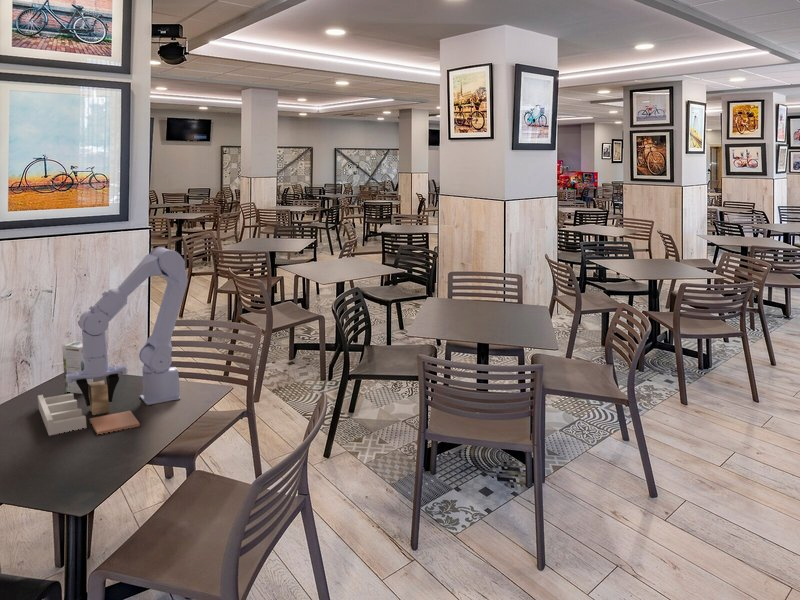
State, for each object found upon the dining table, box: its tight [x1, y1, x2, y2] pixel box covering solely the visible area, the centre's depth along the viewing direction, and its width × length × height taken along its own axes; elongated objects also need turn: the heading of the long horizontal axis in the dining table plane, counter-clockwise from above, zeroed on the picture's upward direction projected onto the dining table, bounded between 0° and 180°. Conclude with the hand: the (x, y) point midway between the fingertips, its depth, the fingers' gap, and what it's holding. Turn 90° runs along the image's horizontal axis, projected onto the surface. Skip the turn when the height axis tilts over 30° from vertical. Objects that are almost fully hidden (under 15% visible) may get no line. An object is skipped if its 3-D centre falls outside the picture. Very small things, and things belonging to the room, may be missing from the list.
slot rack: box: [37, 393, 88, 437], centre depth 154 cm, size 8×20×4 cm, turn 37°
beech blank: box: [88, 379, 110, 416], centre depth 159 cm, size 4×4×8 cm
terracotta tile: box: [89, 410, 141, 436], centre depth 153 cm, size 10×10×1 cm
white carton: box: [61, 340, 96, 395], centre depth 173 cm, size 6×6×14 cm
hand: (99, 402), depth 160 cm, fingers open, 5 cm apart
